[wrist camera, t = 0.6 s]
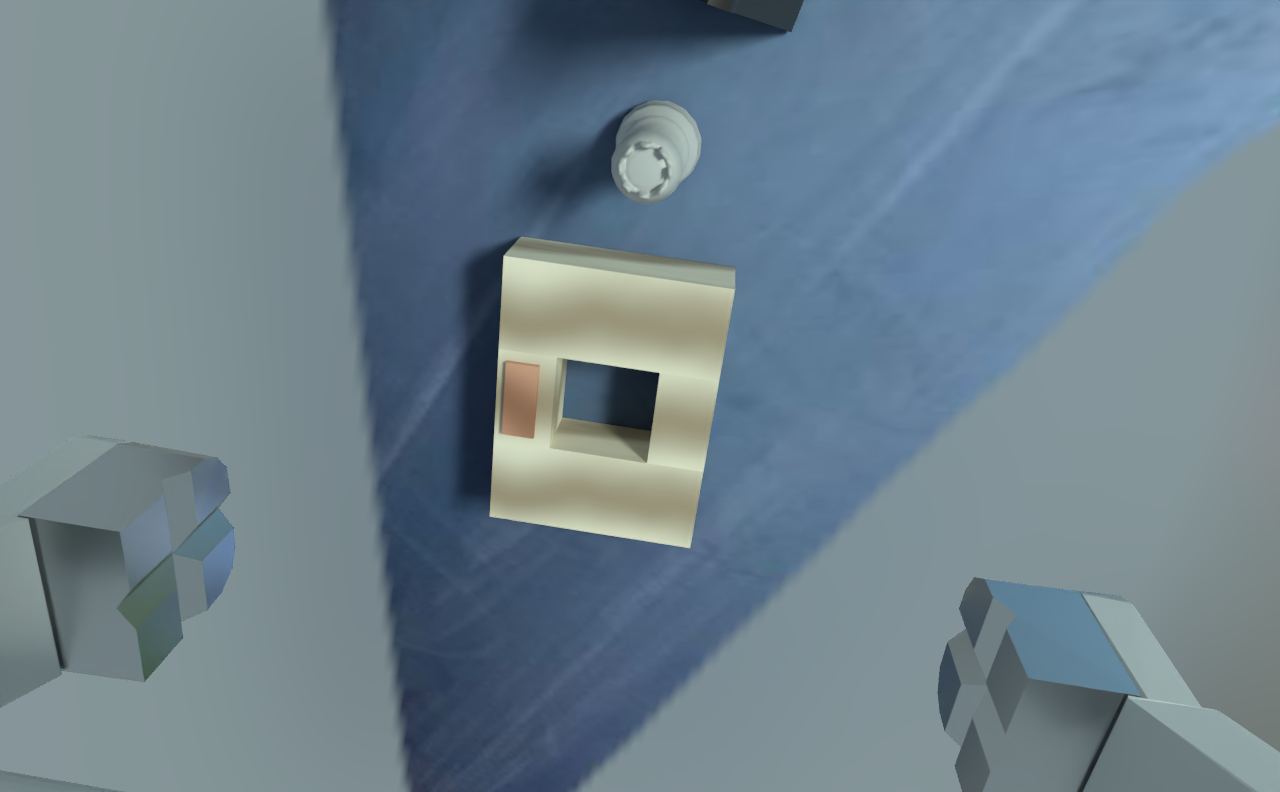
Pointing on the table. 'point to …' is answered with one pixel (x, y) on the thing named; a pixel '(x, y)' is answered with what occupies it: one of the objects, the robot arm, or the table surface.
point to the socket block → (617, 336)
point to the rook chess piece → (655, 151)
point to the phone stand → (763, 10)
